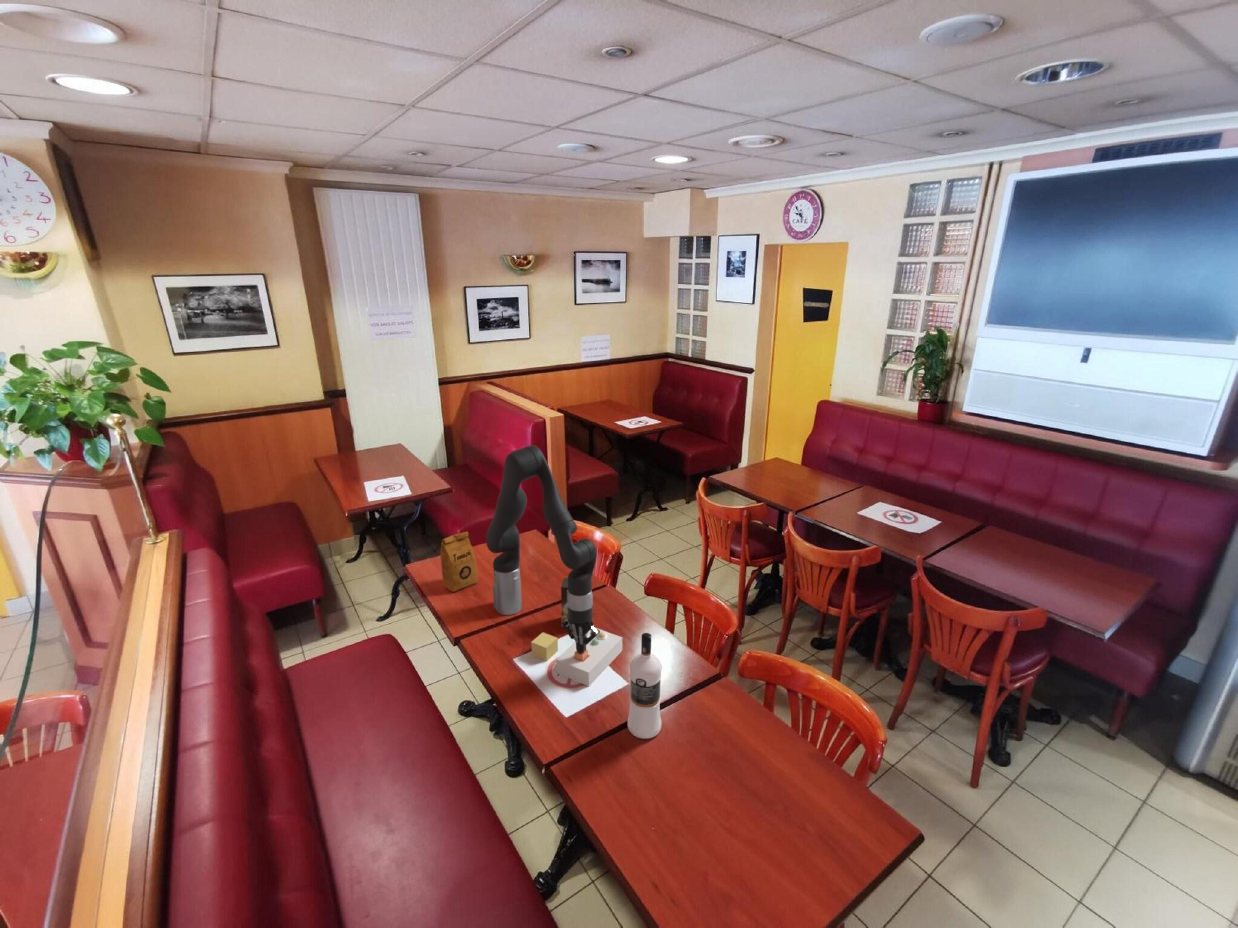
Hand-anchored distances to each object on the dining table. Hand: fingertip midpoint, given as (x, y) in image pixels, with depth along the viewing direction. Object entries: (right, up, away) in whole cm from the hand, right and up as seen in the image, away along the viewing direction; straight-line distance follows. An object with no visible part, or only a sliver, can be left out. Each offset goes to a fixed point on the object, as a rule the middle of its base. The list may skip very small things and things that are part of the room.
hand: (581, 651), depth 180 cm
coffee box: (-4, +2, +26) cm, 27 cm away
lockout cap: (-12, -4, +10) cm, 17 cm away
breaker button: (0, -5, +2) cm, 5 cm away
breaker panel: (+3, -5, +7) cm, 9 cm away
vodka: (+19, -15, -20) cm, 31 cm away
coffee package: (-50, +10, +50) cm, 72 cm away
